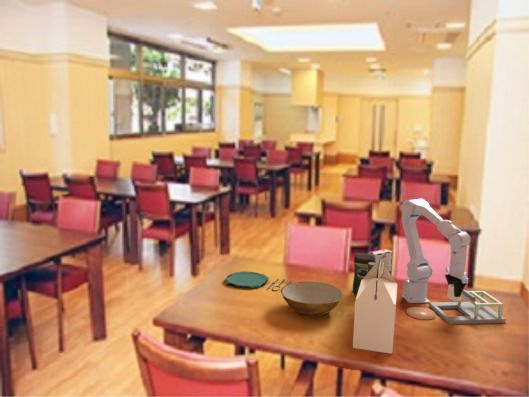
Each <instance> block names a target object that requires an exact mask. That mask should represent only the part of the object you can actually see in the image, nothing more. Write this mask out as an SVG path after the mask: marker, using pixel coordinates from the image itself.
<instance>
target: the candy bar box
mask: <svg viewBox="0 0 529 397" xmlns="http://www.w3.org/2000/svg"><path fill="white" fill-rule="evenodd" d="M367 254H372V255H375V260H376V263H377V264H378V263H379V259H380V257H381V264H383V263H384V261H385V260H386V261H385V266H386V267H387V269H388V270H389V272H390V274H391V275H392V266H393V250H389V249H388V248H387V249H386V248H385V249H378V250H372V251H368V252H367Z"/></svg>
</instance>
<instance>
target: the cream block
mask: <svg viewBox="0 0 529 397" xmlns="http://www.w3.org/2000/svg"><path fill="white" fill-rule="evenodd" d="M447 287H448V288H447V298H448V299H450V301H451V302H458V301H461V302H463V301H462V300H463V297H462V294H461V296H460V297H455V295H454V284H448V283H447ZM462 292H463V291H462Z"/></svg>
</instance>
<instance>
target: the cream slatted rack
mask: <svg viewBox="0 0 529 397" xmlns="http://www.w3.org/2000/svg"><path fill="white" fill-rule="evenodd" d="M485 297H486V298H487V299H489V300H490V301H492V302H489V301H487V300H486V299H485ZM462 298H464V299H465V300H466V301H467V302H471V303H472V304H473V305H475V311H474V316H475V317H478V310H479V307H498V308H497V309H498V310H497V313H498V316H502V317H503V308H504V303H502V302H501V301H499V300H498V299H496V298H495V297H494V296H492V295H491V294H489V293H487V292H486V291H484V290H470V291H469V290H466V289H463V292H462ZM476 299H477V301H478V300H479V301H480V303H477V302H476ZM457 302H458V304H461V302H462V301H457Z"/></svg>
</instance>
